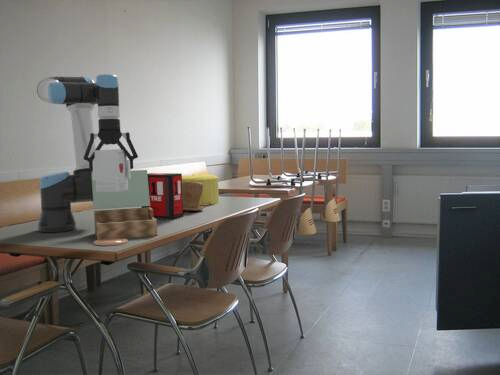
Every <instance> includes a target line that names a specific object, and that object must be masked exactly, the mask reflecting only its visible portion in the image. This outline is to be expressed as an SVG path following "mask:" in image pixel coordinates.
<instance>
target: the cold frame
mask: <svg viewBox="0 0 500 375" xmlns="http://www.w3.org/2000/svg"><path fill="white" fill-rule="evenodd" d="M93 217H94V218H93V220H94V234H95V236H96V240H99V239H105V238H125V239H127V238H129V239H130V238H131V237H132V238H143V236H145V237H156V236H155V235H157V236H158V219H155V218H154V217H153V209H152V208H151V207H148V208H141V207H130V208H114V209H98V210H93Z"/></svg>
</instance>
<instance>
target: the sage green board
mask: <svg viewBox="0 0 500 375" xmlns="http://www.w3.org/2000/svg"><path fill="white" fill-rule="evenodd" d="M130 172H131V178H128V190H124V191H119V192H96V180H93V172H91V175H92V189H93V202H92V204H93V210H109V209H125V208H141V206H150V197H149V187H148V176H147V174H148V170H147V169H140V170H139V169H136V170H135V169H134V170H133V169H132V170H130Z"/></svg>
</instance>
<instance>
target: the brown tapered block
mask: <svg viewBox="0 0 500 375" xmlns="http://www.w3.org/2000/svg"><path fill="white" fill-rule="evenodd" d="M202 191H203V184H202V183H198V182H189V181H184V182H183V183H182V195H183V212H198V211H202V210H204V206H200V204H199V201H200V198H201V195H202Z"/></svg>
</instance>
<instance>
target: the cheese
mask: <svg viewBox="0 0 500 375" xmlns="http://www.w3.org/2000/svg"><path fill="white" fill-rule="evenodd" d="M184 181H189V182H198V183H202V184H203V191H202V195H201V198H200V201H199V204H200V205H203V206H209V204H212V205H216V203H217V204H218V203H220V202H219V201H220V200H219V199H220V198H219V196H220V195H219V193H220V192H219V177H218V176H217V175H215V174H210V173H209V174H206V173H205V174H204V173H199V174H198V173H197V174H195V173H194V174H192V175H182V183H183V182H184ZM182 198H183V195H182Z"/></svg>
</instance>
